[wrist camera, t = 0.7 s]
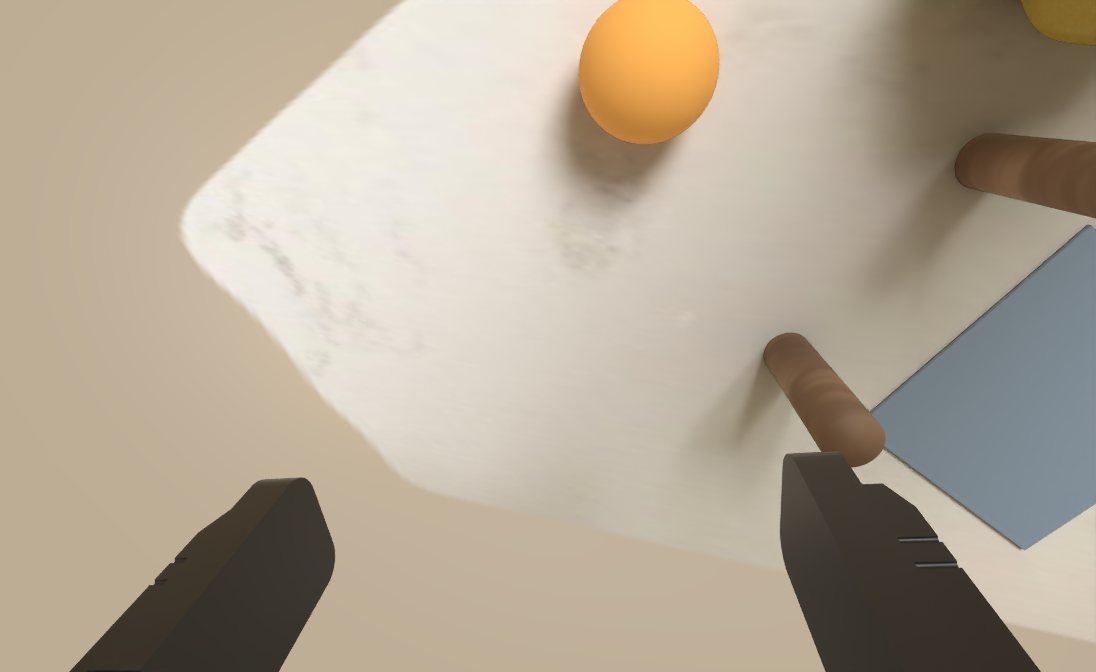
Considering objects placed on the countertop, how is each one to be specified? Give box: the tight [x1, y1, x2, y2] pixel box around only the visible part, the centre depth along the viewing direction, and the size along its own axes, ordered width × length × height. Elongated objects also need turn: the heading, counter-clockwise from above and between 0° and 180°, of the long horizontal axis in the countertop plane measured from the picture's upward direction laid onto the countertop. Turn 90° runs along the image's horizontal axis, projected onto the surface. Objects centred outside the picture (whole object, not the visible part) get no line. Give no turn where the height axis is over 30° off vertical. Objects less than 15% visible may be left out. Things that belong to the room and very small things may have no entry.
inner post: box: [955, 134, 1096, 218], centre depth 23 cm, size 3×3×9 cm
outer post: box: [764, 333, 886, 467], centre depth 28 cm, size 3×3×9 cm
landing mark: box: [870, 225, 1096, 550], centre depth 32 cm, size 15×15×1 cm
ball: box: [579, 0, 719, 144], centre depth 24 cm, size 6×6×6 cm
